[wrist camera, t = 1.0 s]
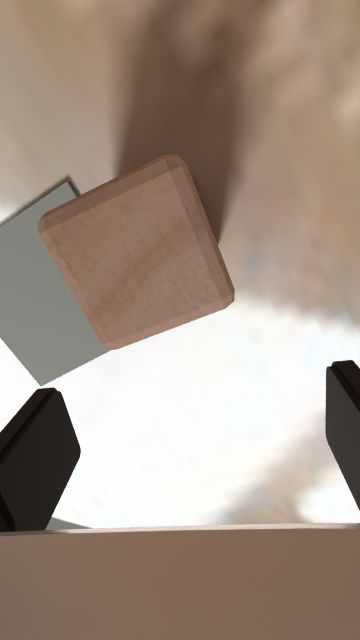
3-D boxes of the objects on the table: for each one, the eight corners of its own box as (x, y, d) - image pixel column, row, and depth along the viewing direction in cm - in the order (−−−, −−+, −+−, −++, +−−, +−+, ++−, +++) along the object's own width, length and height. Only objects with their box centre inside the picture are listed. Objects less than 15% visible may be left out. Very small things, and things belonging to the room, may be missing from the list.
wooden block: (109, 206, 37) (23, 220, 19) (188, 168, 36) (179, 143, 17) (146, 282, 41) (103, 359, 22) (220, 252, 39) (241, 308, 20)
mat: (68, 181, 37) (66, 181, 36) (158, 323, 43) (158, 325, 42) (-55, 266, 41) (-59, 267, 41) (42, 384, 47) (40, 386, 47)
